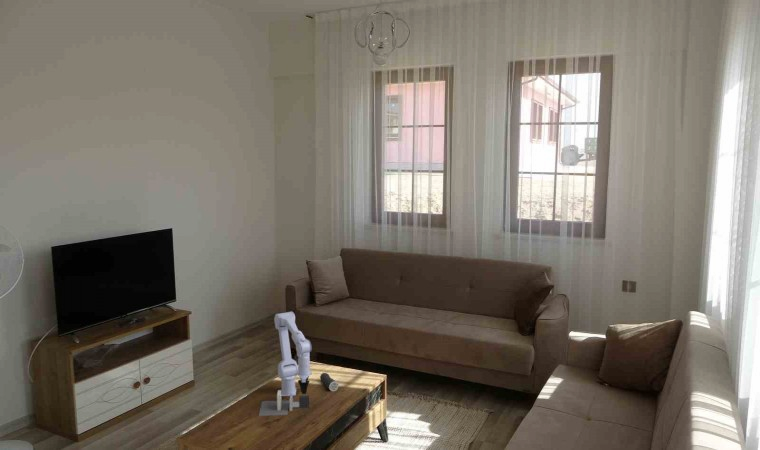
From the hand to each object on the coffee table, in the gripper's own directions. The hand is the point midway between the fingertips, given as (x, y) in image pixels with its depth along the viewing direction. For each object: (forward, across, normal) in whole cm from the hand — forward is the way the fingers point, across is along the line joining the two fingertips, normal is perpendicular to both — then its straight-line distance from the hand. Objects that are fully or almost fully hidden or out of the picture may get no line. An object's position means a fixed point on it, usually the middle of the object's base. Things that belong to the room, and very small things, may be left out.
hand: (304, 390), depth 286 cm
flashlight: (+10, +26, -13) cm, 31 cm away
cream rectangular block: (+9, 0, +12) cm, 15 cm away
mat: (+9, 0, +15) cm, 18 cm away
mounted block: (+9, 0, +2) cm, 10 cm away
